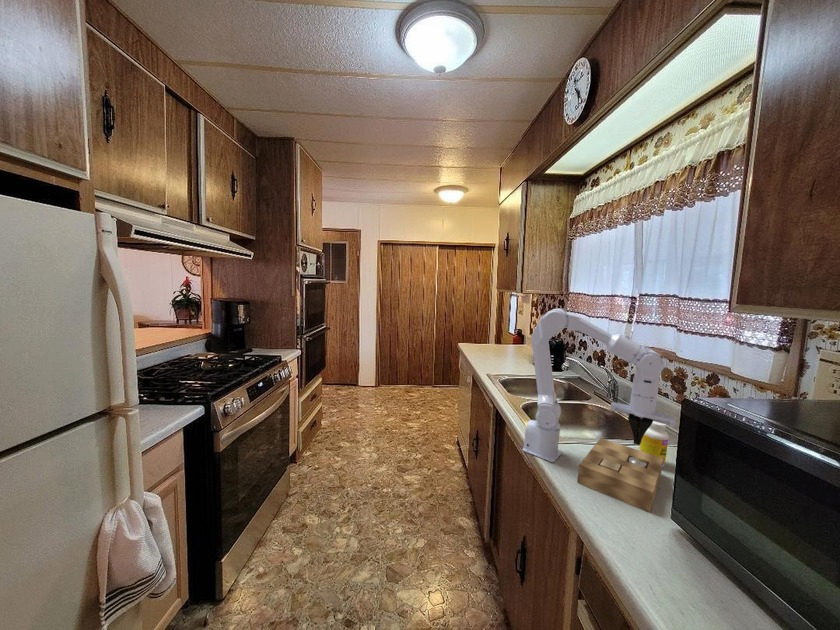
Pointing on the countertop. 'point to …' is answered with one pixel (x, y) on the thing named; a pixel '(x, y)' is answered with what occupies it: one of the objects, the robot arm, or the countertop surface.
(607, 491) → the oak block
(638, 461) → the peg steel
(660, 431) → the supplement bottle
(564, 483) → the countertop surface
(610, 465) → the peg maple
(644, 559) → the countertop surface
